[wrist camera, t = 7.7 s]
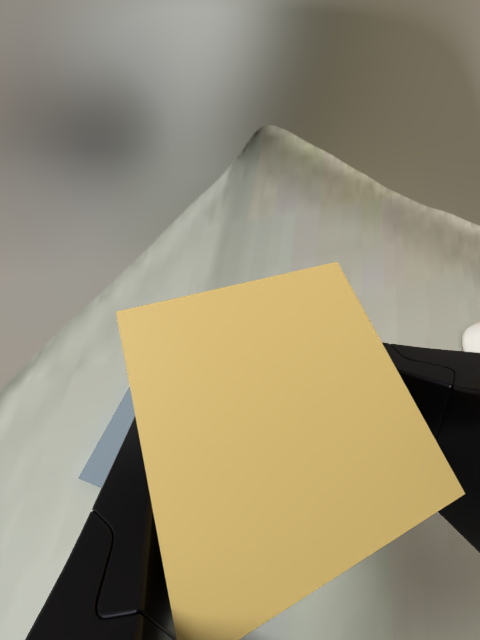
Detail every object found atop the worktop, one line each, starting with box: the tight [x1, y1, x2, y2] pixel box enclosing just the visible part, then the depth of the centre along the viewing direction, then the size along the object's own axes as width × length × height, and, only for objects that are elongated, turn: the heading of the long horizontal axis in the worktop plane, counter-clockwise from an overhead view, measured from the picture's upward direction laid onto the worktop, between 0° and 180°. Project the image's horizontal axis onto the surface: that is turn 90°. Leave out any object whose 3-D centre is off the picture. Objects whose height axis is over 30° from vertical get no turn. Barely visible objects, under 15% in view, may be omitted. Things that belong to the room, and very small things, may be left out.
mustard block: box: [116, 262, 465, 640], centre depth 9 cm, size 5×5×11 cm
